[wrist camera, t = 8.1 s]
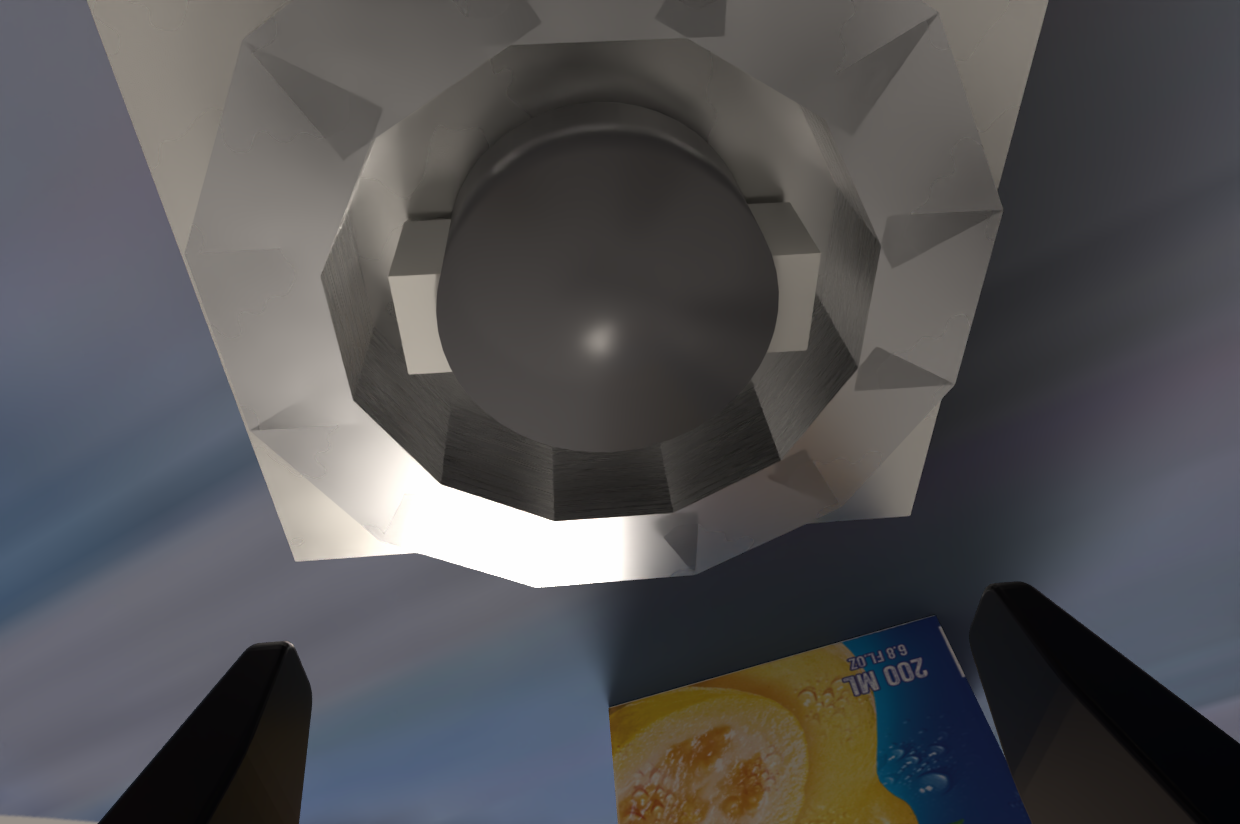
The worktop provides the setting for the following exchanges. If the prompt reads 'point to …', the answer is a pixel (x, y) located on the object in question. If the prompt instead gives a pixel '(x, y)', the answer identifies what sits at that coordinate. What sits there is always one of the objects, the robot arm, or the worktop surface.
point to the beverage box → (818, 742)
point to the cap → (603, 281)
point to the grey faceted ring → (427, 190)
